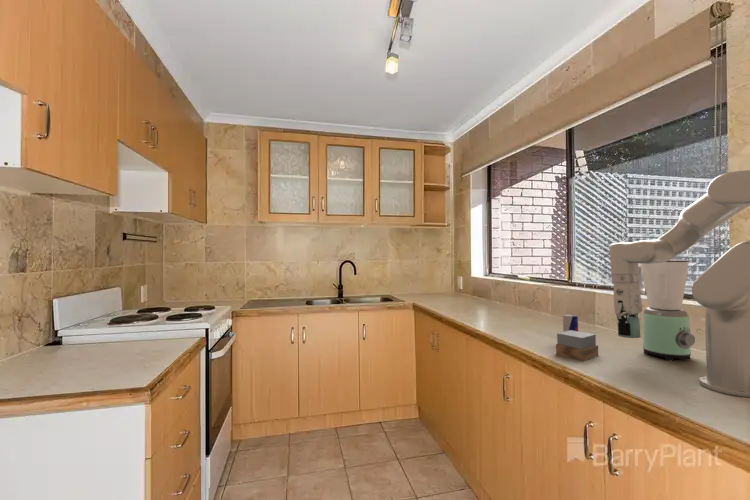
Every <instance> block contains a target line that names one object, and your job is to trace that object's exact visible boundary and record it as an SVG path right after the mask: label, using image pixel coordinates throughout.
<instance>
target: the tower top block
mask: <svg viewBox="0 0 750 500" xmlns="http://www.w3.org/2000/svg"><path fill="white" fill-rule="evenodd" d="M556 336H557V337H556V342H557V343H556V344H559V345H564V346H569V347H573V348H578V349H582V350H583V349H586V348H589V347H593V346H596V345H597V343H596V342H597V341H596V336H597V335H596V334H594V333H590V332H583V331H579V330H578V331H573V330H569V331H565V332H563V331H561V332H557V334H556Z"/></svg>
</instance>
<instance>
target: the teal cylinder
mask: <svg viewBox="0 0 750 500" xmlns="http://www.w3.org/2000/svg"><path fill="white" fill-rule="evenodd" d="M624 317H625V318H626V316H624ZM617 320H618V319H617V318H616V325H617V327H618V322H617ZM628 323H630V331H631V335H630V336H626V335H619V330H618V329H617V336H618V337H622V338H625V339H626V338H627V339H639V338H642V337H641V328H640V327H641V325H640V324H641V323H640V317H638V318H636V317H629V322H628Z"/></svg>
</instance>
